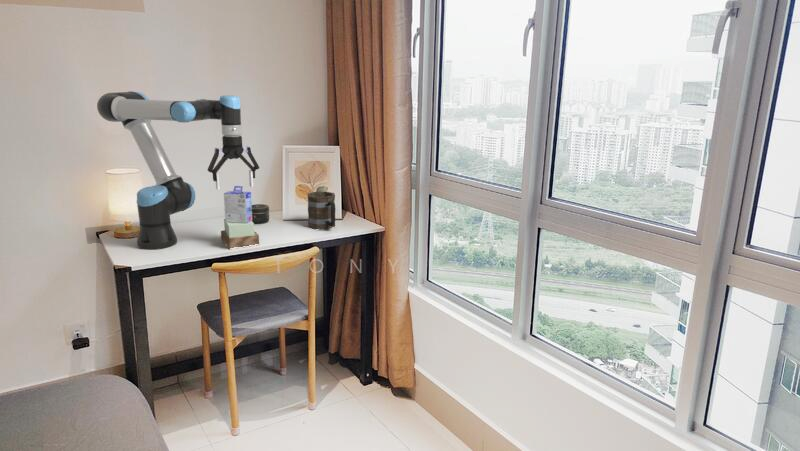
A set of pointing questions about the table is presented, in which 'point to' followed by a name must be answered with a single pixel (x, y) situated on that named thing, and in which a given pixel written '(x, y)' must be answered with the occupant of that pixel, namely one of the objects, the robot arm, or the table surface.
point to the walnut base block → (239, 240)
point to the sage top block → (239, 229)
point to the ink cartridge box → (238, 206)
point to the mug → (321, 210)
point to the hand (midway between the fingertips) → (234, 187)
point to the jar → (260, 213)
